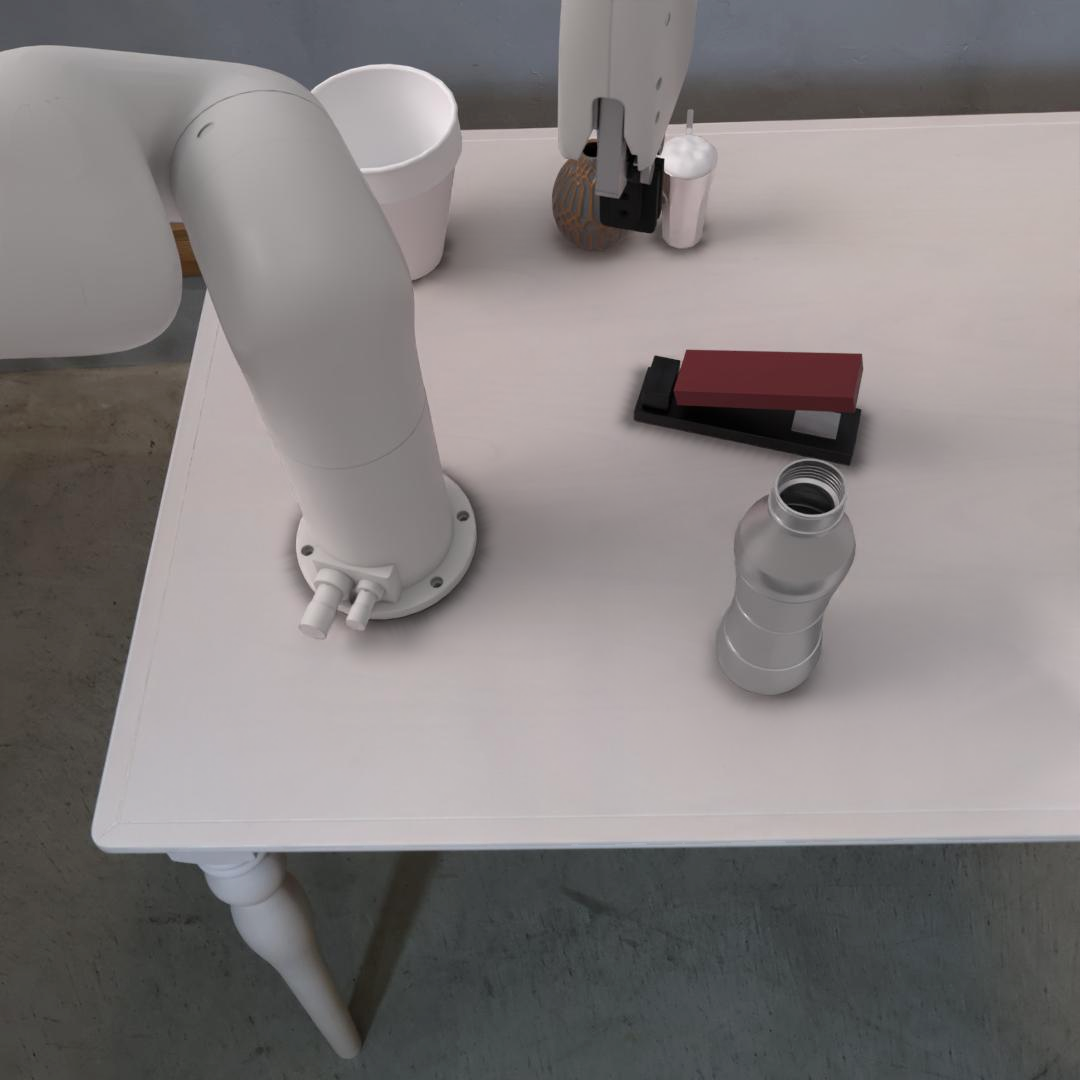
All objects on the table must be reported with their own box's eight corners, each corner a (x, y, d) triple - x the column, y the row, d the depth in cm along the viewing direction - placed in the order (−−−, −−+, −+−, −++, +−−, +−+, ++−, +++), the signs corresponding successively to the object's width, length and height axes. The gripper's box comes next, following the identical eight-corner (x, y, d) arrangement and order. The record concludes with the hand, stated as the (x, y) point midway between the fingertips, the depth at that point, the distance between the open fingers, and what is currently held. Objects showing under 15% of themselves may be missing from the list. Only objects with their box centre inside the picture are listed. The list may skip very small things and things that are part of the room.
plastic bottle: (836, 674, 73) (907, 503, 56) (748, 724, 71) (794, 565, 54) (776, 598, 76) (827, 415, 59) (692, 645, 74) (718, 470, 57)
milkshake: (709, 210, 95) (720, 110, 87) (708, 255, 93) (719, 157, 84) (656, 208, 96) (661, 108, 87) (653, 253, 93) (658, 155, 84)
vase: (540, 220, 96) (535, 134, 88) (614, 196, 97) (615, 109, 89) (573, 273, 92) (570, 189, 85) (649, 248, 93) (654, 162, 86)
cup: (311, 228, 96) (271, 91, 85) (445, 185, 98) (424, 44, 87) (356, 326, 90) (320, 192, 79) (498, 277, 92) (483, 140, 81)
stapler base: (858, 418, 83) (867, 392, 81) (849, 465, 81) (857, 440, 78) (647, 376, 86) (649, 349, 84) (633, 420, 84) (634, 394, 81)
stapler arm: (863, 369, 78) (862, 353, 77) (854, 413, 76) (853, 397, 75) (689, 364, 83) (685, 349, 82) (677, 405, 81) (673, 390, 80)
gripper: (600, -203, 53) (601, 125, 68) (503, -18, 45) (528, 303, 61) (760, -187, 51) (723, 145, 67) (686, 7, 44) (664, 329, 60)
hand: (630, 219), depth 64 cm, fingers closed
